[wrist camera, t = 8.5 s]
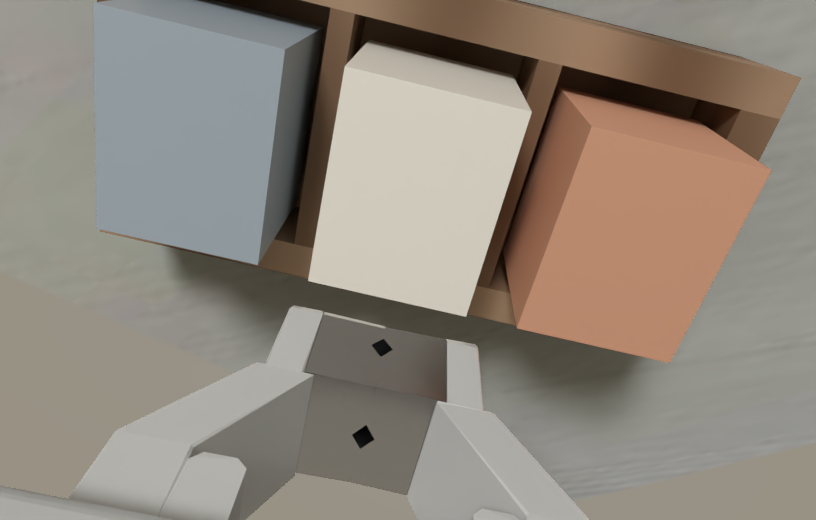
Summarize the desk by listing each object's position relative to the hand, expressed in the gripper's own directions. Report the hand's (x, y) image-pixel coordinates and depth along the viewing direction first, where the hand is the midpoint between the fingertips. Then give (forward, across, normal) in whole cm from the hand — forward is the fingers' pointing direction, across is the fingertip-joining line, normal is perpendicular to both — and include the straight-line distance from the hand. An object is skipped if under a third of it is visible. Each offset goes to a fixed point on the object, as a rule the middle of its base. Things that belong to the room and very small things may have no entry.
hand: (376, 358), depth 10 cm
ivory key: (+12, 0, 0) cm, 12 cm away
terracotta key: (+12, -6, 0) cm, 13 cm away
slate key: (+12, +6, 0) cm, 13 cm away
